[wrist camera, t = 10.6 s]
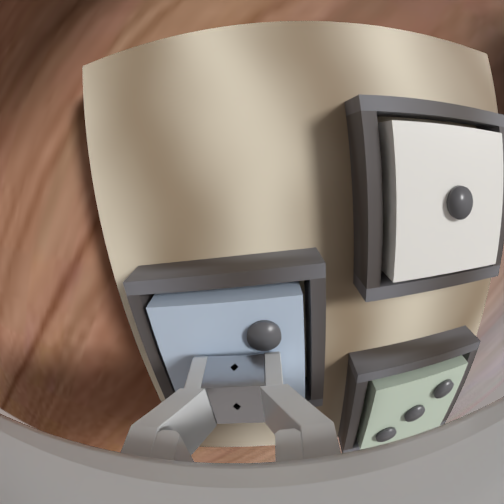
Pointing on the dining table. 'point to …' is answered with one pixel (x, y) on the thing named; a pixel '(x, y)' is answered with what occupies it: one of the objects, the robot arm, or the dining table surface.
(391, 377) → the three dot key
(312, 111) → the key board
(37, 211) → the dining table surface
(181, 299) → the two dot key
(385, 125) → the one dot key
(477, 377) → the dining table surface
